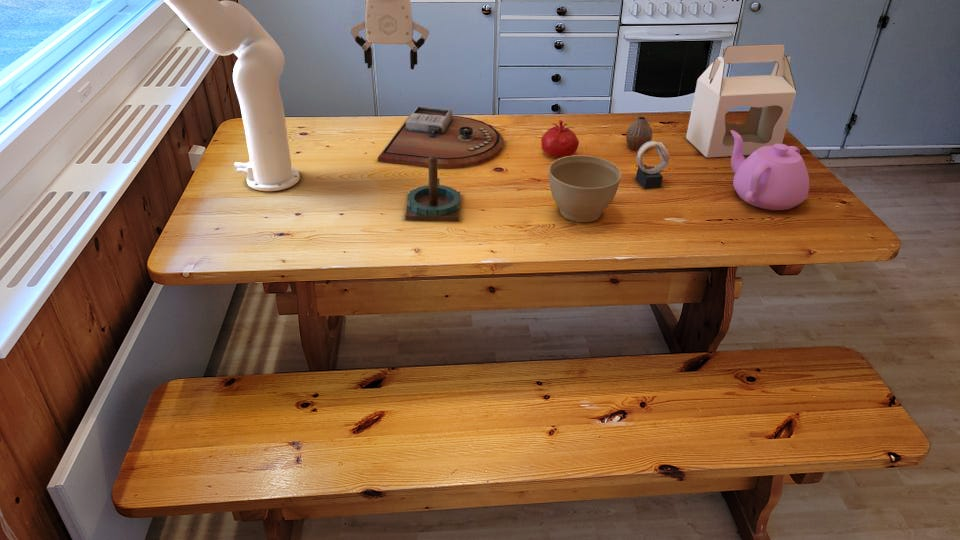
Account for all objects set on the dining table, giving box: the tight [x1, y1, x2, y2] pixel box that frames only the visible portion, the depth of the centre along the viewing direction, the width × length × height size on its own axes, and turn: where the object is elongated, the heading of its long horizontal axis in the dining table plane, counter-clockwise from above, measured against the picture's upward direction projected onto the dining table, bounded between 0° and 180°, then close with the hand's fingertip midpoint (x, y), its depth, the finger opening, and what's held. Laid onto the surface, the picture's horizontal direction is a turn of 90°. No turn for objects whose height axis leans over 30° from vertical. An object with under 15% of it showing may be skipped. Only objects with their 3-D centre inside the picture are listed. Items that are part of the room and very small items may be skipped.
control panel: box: [377, 105, 504, 170], centre depth 194 cm, size 31×5×30 cm
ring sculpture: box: [635, 140, 671, 190], centre depth 175 cm, size 6×8×11 cm
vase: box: [625, 115, 653, 152], centre depth 193 cm, size 7×7×9 cm
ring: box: [406, 177, 462, 216], centre depth 166 cm, size 12×16×2 cm
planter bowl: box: [548, 154, 622, 223], centre depth 162 cm, size 16×16×11 cm
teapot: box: [730, 130, 810, 211], centre depth 171 cm, size 22×22×14 cm
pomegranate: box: [540, 119, 580, 159], centre depth 189 cm, size 10×10×9 cm
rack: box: [404, 155, 461, 222], centre depth 162 cm, size 12×12×13 cm
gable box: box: [685, 43, 797, 159], centre depth 191 cm, size 22×13×28 cm, turn 101°
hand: (391, 67), depth 161 cm, fingers open, 9 cm apart
